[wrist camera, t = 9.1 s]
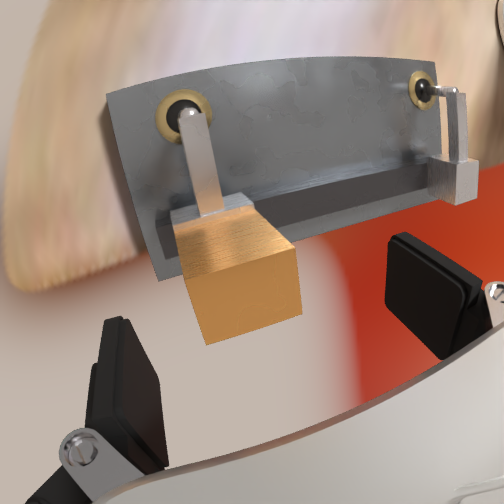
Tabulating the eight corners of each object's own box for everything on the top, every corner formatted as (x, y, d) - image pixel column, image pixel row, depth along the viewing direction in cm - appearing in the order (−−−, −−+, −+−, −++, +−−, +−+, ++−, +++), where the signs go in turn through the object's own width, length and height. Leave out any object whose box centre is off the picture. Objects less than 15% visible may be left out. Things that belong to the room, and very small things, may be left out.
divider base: (422, 62, 20) (477, 62, 15) (429, 193, 26) (478, 214, 21) (109, 95, 16) (90, 86, 11) (157, 271, 21) (162, 322, 16)
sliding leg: (219, 101, 16) (272, 90, 9) (246, 243, 20) (303, 319, 13) (147, 118, 15) (140, 118, 8) (184, 261, 19) (208, 350, 12)
